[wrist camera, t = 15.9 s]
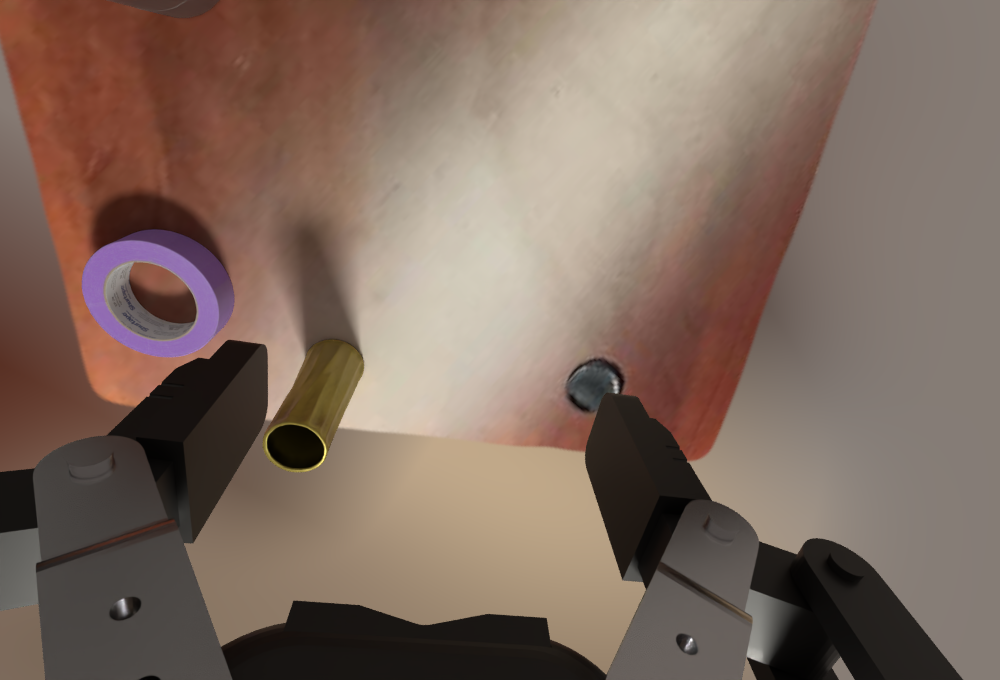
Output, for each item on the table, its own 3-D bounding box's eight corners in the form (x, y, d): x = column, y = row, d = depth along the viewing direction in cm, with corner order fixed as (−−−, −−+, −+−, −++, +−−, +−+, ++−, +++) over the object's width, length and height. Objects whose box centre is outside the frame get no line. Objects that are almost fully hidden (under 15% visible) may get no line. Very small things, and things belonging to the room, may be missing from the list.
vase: (331, 327, 52) (287, 404, 39) (376, 364, 54) (348, 448, 42) (294, 363, 54) (240, 448, 41) (339, 397, 56) (301, 488, 43)
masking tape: (250, 334, 52) (235, 351, 49) (137, 346, 52) (114, 364, 49) (212, 222, 47) (192, 233, 44) (86, 235, 47) (56, 246, 43)
